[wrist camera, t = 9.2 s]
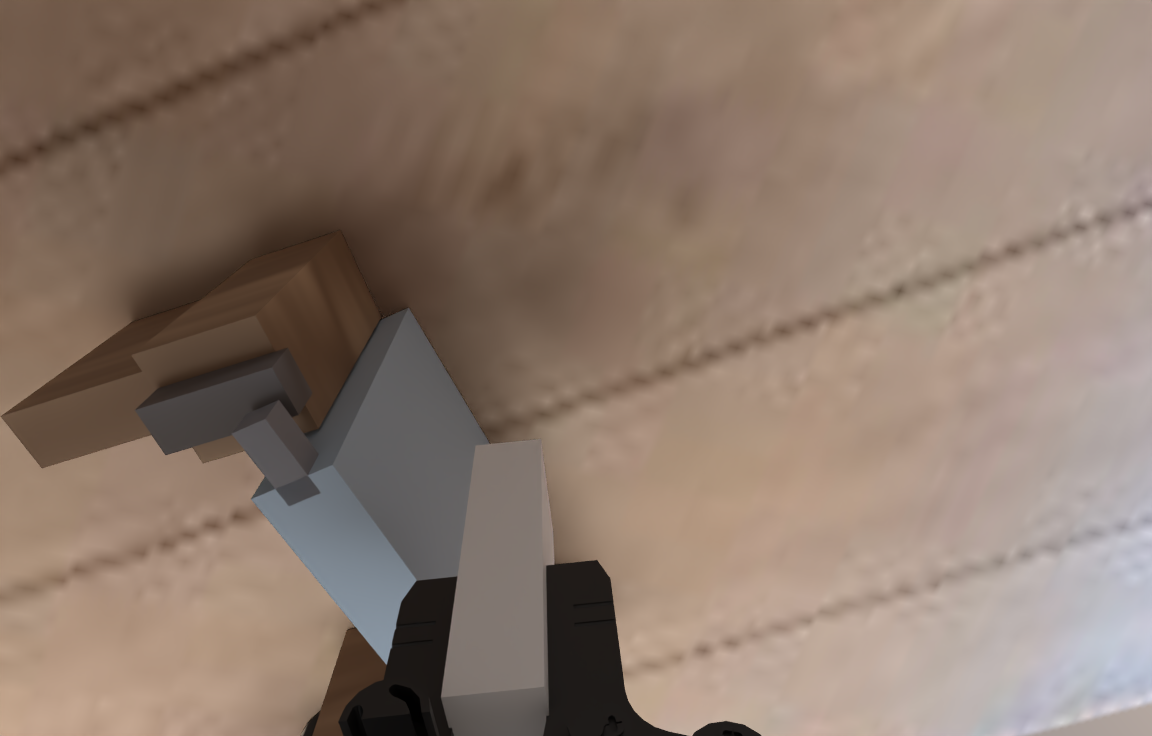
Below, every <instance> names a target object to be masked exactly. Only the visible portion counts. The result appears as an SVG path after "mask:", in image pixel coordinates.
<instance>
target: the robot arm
mask: <svg viewBox="0 0 1152 736" xmlns="http://www.w3.org/2000/svg"><path fill="white" fill-rule="evenodd" d="M338 723H339V725H340V728H341V731H342V733H343V736H687V735H682V734H677V733H673V732H668V731H665V730H662V729H659V728H656V727H654V726H652V725H651V724H649V723H647V722H646V721H644V720H643V719H642V718H641V717H640V716H639V715H638V714H637V713H636V712H635V711H634V710H633V708H632V707H631V705H630V703H629V701H628V699H627V695H626V692H625V687H624V679H623V672H622V664H621V656H620V649H619V641H618V634H617V626H616V618H615V611H614V604H613V596H612V588H611V580H610V577H609V576H608V575H607V573H606V572H605V570H604V569H603V568H602V566H601V565H600V564H599V562H598V561H597V560H594V561H585V562H575V563H565V564H556V565H554V536H553V525H552V518H551V510H550V503H549V495H548V488H547V480H546V472H545V465H544V457H543V450H542V442H541V439H534V440H524V441H514V442H505V443H495V444H485V445H476V446H475V453H474V461H473V468H472V475H471V482H470V490H469V497H468V504H467V512H466V519H465V526H464V533H463V541H462V548H461V555H460V562H459V570H458V576H456V577H446V578H437V579H427V580H418V581H416V582H415V583H414V585H413V586H412V587H411V589H410V590H409V592H408V593H407V594H406V596H405V597H404V599H403V600H402V601H401V605H400V609H399V613H398V618H397V622H396V629H395V631H394V635H393V640H392V648H391V649H390V653H389V657H388V662H387V666H386V671H385V675H384V679H383V680H381V681H377V682H374V683H373V684H371V685H369V686H368V687H366V688H364V689H363V690H361V691H359V692H358V693H357V694H356V695H355V696H354V697H353V699H352V700H351V701H350V702H349V703H348V704H347V705H346V706H345V708H344V710H343V712H342V714H341V717H340V719H339V721H338ZM693 736H761V735H760V734H759V733H757V732H755V731H754V730H752V729H750V728H749V727H747V726H745V725H743V724H738V723H733V722H728V721H724V722H717V723H710V724H708V725H706V726H704V727H703V728H701V729H699V730H697V731H696V732H695V733H694V734H693Z"/></svg>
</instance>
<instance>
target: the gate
mask: <svg viewBox="0 0 1152 736" xmlns="http://www.w3.org/2000/svg"><path fill="white" fill-rule="evenodd" d="M232 435H233V436H234V438H235V439H236V440H237V441H238V443H239V444H240V445H241V446H242V448H243V449H244V450H245V451H246V453H247V454H248V455H249V457H250V458H251V459H252V460H253V462H254V463H255V464H256V465H257V467H258V468H259V469H260V470H261V472H262V473H263V474H264V475H265V478H264V479H263V481H262V482H261V484H260V486H259V487H258V489H257V490H256V492H255V494H254V495H253V497H252V498H251V500H252V501H253V502H254V503H255V505H256V506H257V507H258V508H259V509H260V511H261V512H262V513H263V514H264V516H265V517H266V518H267V519H268V520H269V522H270V523H271V524H272V525H273V527H274V528H275V529H276V530H277V531H278V533H279V534H280V535H281V536H282V538H283V539H284V540H285V541H286V542H287V544H288V545H289V546H290V547H291V549H292V550H293V551H294V552H295V553H296V555H297V556H298V557H299V558H300V560H301V561H302V562H303V563H304V564H305V566H306V567H307V568H308V569H309V571H310V572H311V573H312V574H313V576H314V577H315V578H316V579H317V580H318V582H319V583H320V584H321V585H322V587H323V588H324V589H325V590H326V591H327V593H328V594H329V595H330V596H331V598H332V599H333V600H334V601H335V602H336V604H337V605H338V606H339V607H340V609H341V610H342V611H343V612H344V613H345V615H346V616H347V617H348V618H349V620H350V621H351V622H352V623H353V624H354V626H355V627H356V628H357V629H358V631H359V632H360V633H361V634H362V635H363V637H364V638H365V639H366V640H367V642H368V643H369V644H370V645H371V646H372V648H373V649H374V650H375V651H376V653H377V654H378V655H379V656H380V657H381V659H382V660H383V661H384V662H385V664H386V665H387V662H388V657H389V653H390V649H391V648H392V640H393V635H394V631H395V629H396V622H397V618H398V613H399V609H400V605H401V601H402V600H403V599H404V597H405V596H406V594H407V593H408V592H409V590H410V589H411V587H412V586H413V585H414V583H415V582H416V581H418V580H427V579H437V578H446V577H456V576H458V570H459V562H460V555H461V548H462V541H463V533H464V526H465V519H466V512H467V504H468V497H469V490H470V482H471V475H472V468H473V461H474V453H475V446H476V445H485V444H490V443H489V441H488V440H487V438H486V436H485V435H484V433H483V431H482V430H481V428H480V426H479V425H478V423H477V421H476V419H475V418H474V416H473V414H472V413H471V411H470V409H469V408H468V406H467V404H466V403H465V401H464V399H463V398H462V396H461V394H460V393H459V391H458V389H457V388H456V386H455V384H454V383H453V381H452V379H451V378H450V376H449V374H448V373H447V371H446V369H445V368H444V366H443V364H442V363H441V361H440V359H439V357H438V356H437V354H436V352H435V351H434V349H433V347H432V346H431V344H430V342H429V341H428V339H427V337H426V336H425V334H424V332H423V331H422V329H421V327H420V326H419V324H418V322H417V321H416V319H415V317H414V316H413V314H412V312H411V311H410V309H409V308H406V309H404V310H402V311H400V312H398V313H395V314H393V315H391V316H389V317H386V318H384V319H382V320H380V321H379V322H378V324H377V326H376V327H375V329H374V331H373V333H372V334H371V336H370V338H369V340H368V342H367V343H366V345H365V347H364V349H363V351H362V352H361V354H360V356H359V358H358V359H357V361H356V363H355V365H354V367H353V368H352V370H351V372H350V374H349V375H348V377H347V379H346V381H345V383H344V384H343V386H342V388H341V390H340V392H339V393H338V395H337V397H336V399H335V400H334V402H333V404H332V406H331V408H330V409H329V411H328V413H327V415H326V416H325V418H324V420H323V422H322V424H321V425H320V427H319V429H316V430H313V431H310V432H306V433H303V432H302V430H301V429H300V428H299V426H298V425H297V424H296V422H295V421H294V420H293V418H292V417H291V416H290V414H289V413H288V411H287V410H286V409H285V407H284V406H283V405H282V403H281V402H280V401H279V400H277V401H275V402H273V403H270V404H268V405H266V406H264V407H261V408H259V409H257V410H254V411H252V412H250V413H248V414H246V416H245V417H244V418H243V419H242V421H241V422H240V423H239V425H238V426H237V427H236V429H235V430H234V431H233V432H232Z"/></svg>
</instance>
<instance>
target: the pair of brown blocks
mask: <svg viewBox="0 0 1152 736" xmlns="http://www.w3.org/2000/svg"><path fill="white" fill-rule="evenodd" d="M380 318H381V315H380V313H379V311H378V309H377V307H376V305H375V302H374V300H373V298H372V296H371V294H370V292H369V290H368V288H367V285H366V283H365V281H364V279H363V277H362V275H361V273H360V271H359V268H358V266H357V264H356V262H355V260H354V258H353V256H352V254H351V252H350V249H349V247H348V245H347V243H346V241H345V239H344V237H343V235H342V232H341V230H339V231H336V232H333V233H330V234H327V235H324V236H321V237H318V238H315V239H312V240H309V241H306V242H303V243H300V244H297V245H294V246H291V247H288V248H285V249H282V250H279V251H275V252H272V253H269V254H266V255H263V256H260V257H257V258H254V259H251V260H250V261H249V262H247V263H246V264H245V265H244V266H242V267H241V268H240V269H239V270H237V271H236V272H235V273H234V274H232V275H231V276H230V277H229V278H227V279H226V280H225V281H224V282H222V283H221V284H220V285H219V286H217V287H216V288H215V289H214V290H212V291H211V292H210V293H209V294H207V295H206V296H205V297H203V298H202V299H201V300H199V301H196V302H193V303H190V304H187V305H184V306H180V307H177V308H174V309H171V310H168V311H165V312H162V313H159V314H156V315H153V316H150V317H147V318H143V319H140V320H137V321H134V322H131V323H130V324H129V325H127V326H126V327H124V328H123V329H122V330H120V331H119V332H117V333H116V334H115V335H113V336H112V337H110V338H109V339H108V340H106V341H105V342H104V343H102V344H101V345H99V346H98V347H97V348H95V349H94V350H92V351H91V352H90V353H88V354H87V355H85V356H84V357H83V358H81V359H80V360H78V361H77V362H76V363H74V364H73V365H72V366H70V367H69V368H67V369H66V370H65V371H63V372H62V373H60V374H59V375H58V376H56V377H55V378H53V379H52V380H51V381H49V382H48V383H46V384H45V385H44V386H42V387H41V388H40V389H38V390H37V391H35V392H34V393H33V394H31V395H30V396H28V397H27V398H26V399H24V400H23V401H21V402H20V403H19V404H17V405H16V406H14V407H13V408H12V409H10V410H9V411H8V412H6V413H5V414H3V415H2V416H1V417H2V419H3V420H4V421H5V422H6V424H7V425H8V426H9V427H10V429H11V430H12V431H13V432H14V434H15V435H16V436H17V438H18V439H19V440H20V441H21V443H22V444H23V445H24V446H25V448H26V449H27V450H28V451H29V453H30V454H31V455H32V456H33V458H34V459H35V460H36V462H37V463H38V464H39V465H40V467H41V468H45V467H48V466H51V465H54V464H58V463H61V462H64V461H67V460H71V459H74V458H77V457H80V456H84V455H87V454H90V453H94V452H97V451H100V450H103V449H107V448H110V447H113V446H116V445H120V444H123V443H126V442H129V441H133V440H136V439H139V438H143V437H146V436H149V435H152V436H153V438H154V439H155V441H156V442H157V443H158V445H159V446H160V448H161V449H162V451H163V452H164V454H165V455H168V454H171V453H175V452H178V451H181V450H185V449H188V448H191V447H192V448H193V449H194V451H195V452H196V454H197V455H198V457H199V458H200V460H201V461H202V463H206V462H209V461H213V460H216V459H219V458H223V457H226V456H229V455H233V454H236V453H239V452H243V451H245V450H244V449H243V448H242V446H241V445H240V444H239V443H238V441H237V440H236V439H235V438H234V436H233V435H232V432H233V431H234V430H235V429H236V427H237V426H238V425H239V423H240V422H241V421H242V419H243V418H244V417H245V416H246V414H248V413H250V412H252V411H254V410H257V409H259V408H261V407H264V406H266V405H268V404H270V403H273V402H275V401H277V400H279V401H280V402H281V403H282V405H283V406H284V407H285V409H286V410H287V411H288V413H289V414H290V416H291V417H292V418H293V420H294V421H295V422H296V424H297V425H298V426H299V428H300V429H301V430H302V432H303V433H306V432H310V431H313V430H316V429H319V427H320V425H321V424H322V422H323V420H324V418H325V416H326V415H327V413H328V411H329V409H330V408H331V406H332V404H333V402H334V400H335V399H336V397H337V395H338V393H339V392H340V390H341V388H342V386H343V384H344V383H345V381H346V379H347V377H348V375H349V374H350V372H351V370H352V368H353V367H354V365H355V363H356V361H357V359H358V358H359V356H360V354H361V352H362V351H363V349H364V347H365V345H366V343H367V342H368V340H369V338H370V336H371V334H372V333H373V331H374V329H375V327H376V326H377V324H378V322H379V320H380ZM386 666H387V665H386V664H385V662H384V661H383V660H382V659H381V657H380V656H379V655H378V654H377V653H376V651H375V650H374V649H373V648H372V646H371V645H370V644H369V643H368V642H367V640H366V639H365V638H364V637H363V635H362V634H361V633H360V632H359V631H358V629H357V628H354V629H350V630H347V632H346V635H345V638H344V641H343V644H342V647H341V650H340V653H339V656H338V659H337V662H336V665H335V668H334V671H333V674H332V677H331V680H330V684H329V687H328V690H327V693H326V696H325V699H324V702H323V705H322V708H321V711H320V714H319V717H318V720H317V723H316V726H315V729H314V732H313V735H312V736H343V733H342V731H341V728H340V725H339V723H338V721H339V719H340V717H341V714H342V712H343V710H344V708H345V706H346V705H347V704H348V703H349V702H350V701H351V700H352V699H353V697H354V696H355V695H356V694H357V693H358V692H359V691H361V690H363V689H364V688H366V687H368V686H369V685H371V684H373V683H374V682H377V681H381V680H383V679H384V675H385V671H386Z"/></svg>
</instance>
